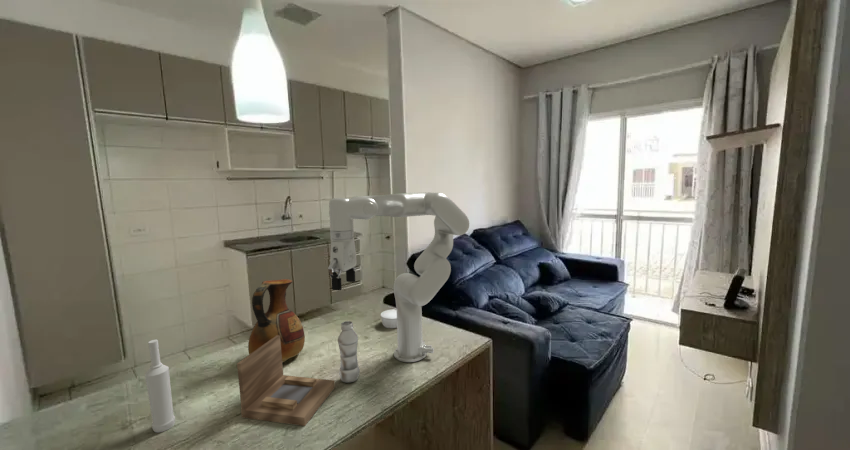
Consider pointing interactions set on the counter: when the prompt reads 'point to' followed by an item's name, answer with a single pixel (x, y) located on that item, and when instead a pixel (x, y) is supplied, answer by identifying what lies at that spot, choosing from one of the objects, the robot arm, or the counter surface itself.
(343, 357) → the plastic bottle
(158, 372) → the bottle
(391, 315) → the ramekin
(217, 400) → the counter surface
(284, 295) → the ceramic pitcher
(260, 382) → the display stand
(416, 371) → the counter surface
